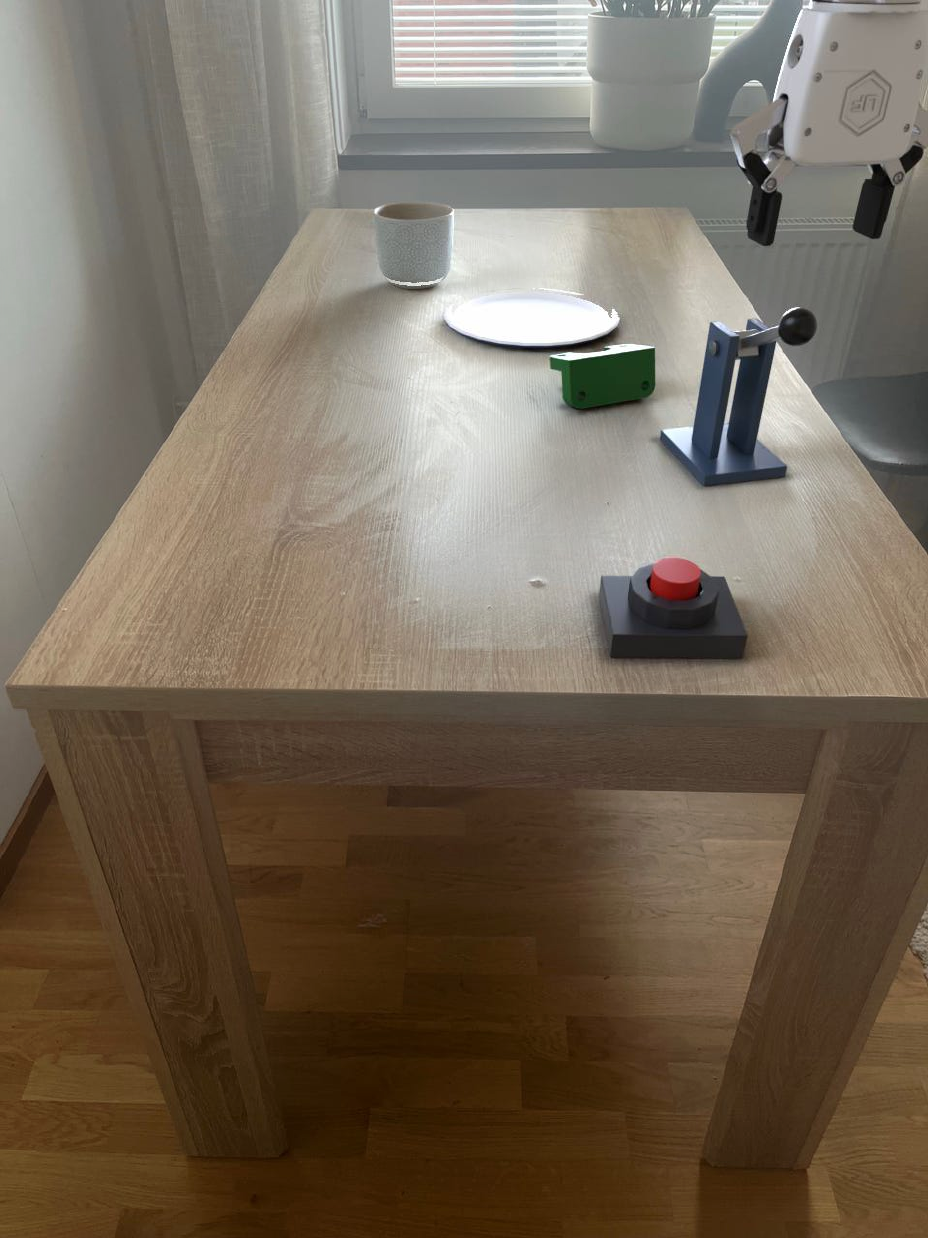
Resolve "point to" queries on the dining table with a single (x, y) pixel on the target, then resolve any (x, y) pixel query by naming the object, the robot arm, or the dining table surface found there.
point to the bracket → (733, 445)
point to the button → (675, 579)
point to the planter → (414, 241)
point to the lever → (779, 333)
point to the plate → (531, 319)
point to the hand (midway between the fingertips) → (813, 238)
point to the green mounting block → (606, 375)
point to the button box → (670, 619)
